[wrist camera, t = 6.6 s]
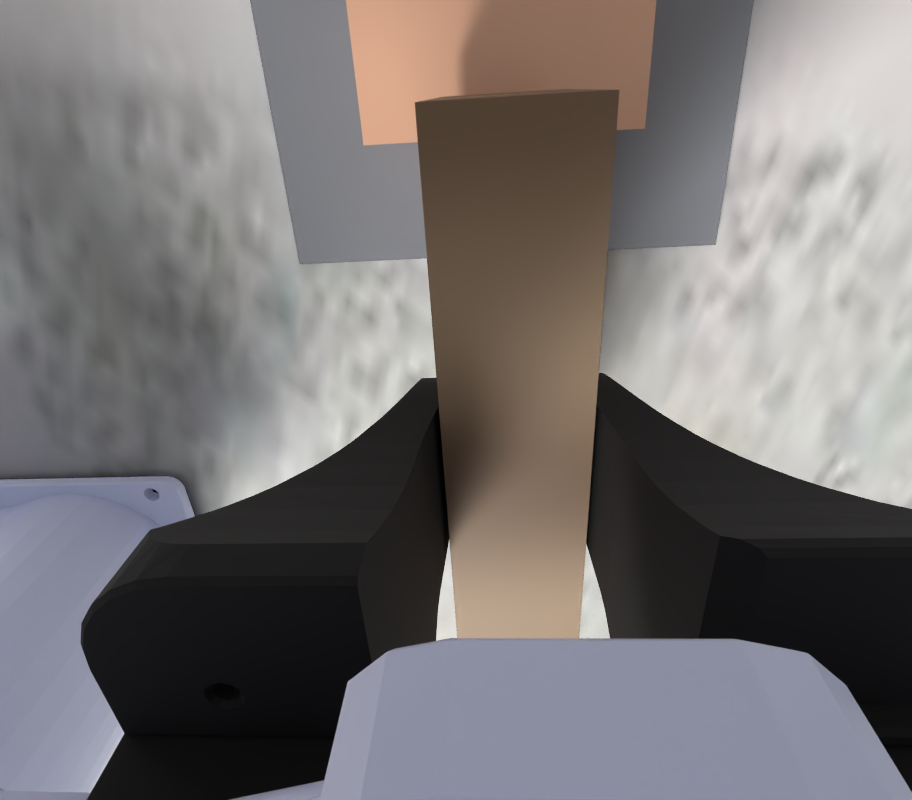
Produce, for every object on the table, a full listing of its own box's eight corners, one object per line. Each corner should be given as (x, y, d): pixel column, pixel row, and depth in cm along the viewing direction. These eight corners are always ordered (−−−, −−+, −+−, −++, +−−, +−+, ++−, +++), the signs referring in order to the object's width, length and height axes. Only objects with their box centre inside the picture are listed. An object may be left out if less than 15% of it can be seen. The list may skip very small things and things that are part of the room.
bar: (550, 551, 17) (573, 716, 12) (469, 552, 17) (463, 714, 12) (566, 89, 11) (619, 89, 7) (442, 97, 11) (414, 102, 7)
